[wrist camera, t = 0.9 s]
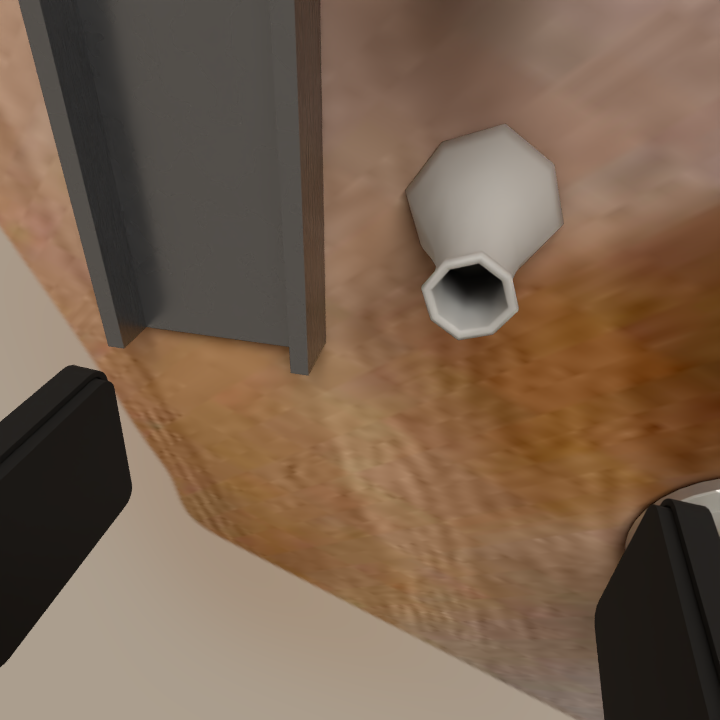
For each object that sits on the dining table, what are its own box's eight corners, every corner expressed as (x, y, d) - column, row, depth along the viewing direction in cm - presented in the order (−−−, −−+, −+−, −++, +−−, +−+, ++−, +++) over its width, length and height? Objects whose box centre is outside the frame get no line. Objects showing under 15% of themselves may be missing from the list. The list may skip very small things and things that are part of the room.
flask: (590, 227, 28) (619, 334, 20) (459, 297, 31) (438, 412, 23) (513, 91, 25) (510, 149, 17) (380, 183, 29) (326, 267, 21)
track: (325, 342, 35) (308, 375, 32) (140, 316, 37) (108, 346, 34) (318, -81, 24) (290, -88, 21) (53, -83, 26) (-6, -90, 23)
